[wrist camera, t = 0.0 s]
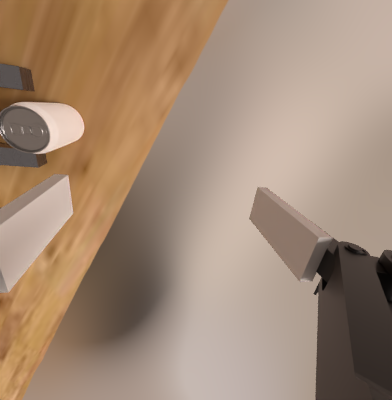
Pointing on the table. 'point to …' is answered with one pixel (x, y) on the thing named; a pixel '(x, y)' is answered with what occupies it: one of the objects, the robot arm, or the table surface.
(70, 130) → the can
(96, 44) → the table surface
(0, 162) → the slot guide
